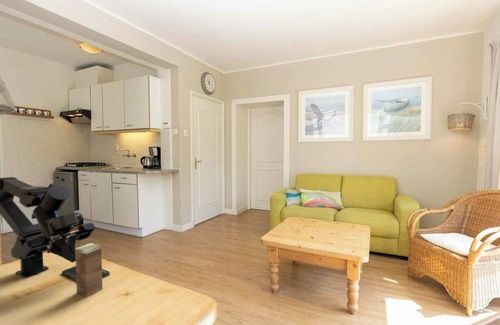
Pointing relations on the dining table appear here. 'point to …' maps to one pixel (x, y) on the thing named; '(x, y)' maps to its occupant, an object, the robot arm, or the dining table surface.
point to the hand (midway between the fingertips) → (74, 261)
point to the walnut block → (88, 269)
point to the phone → (72, 273)
